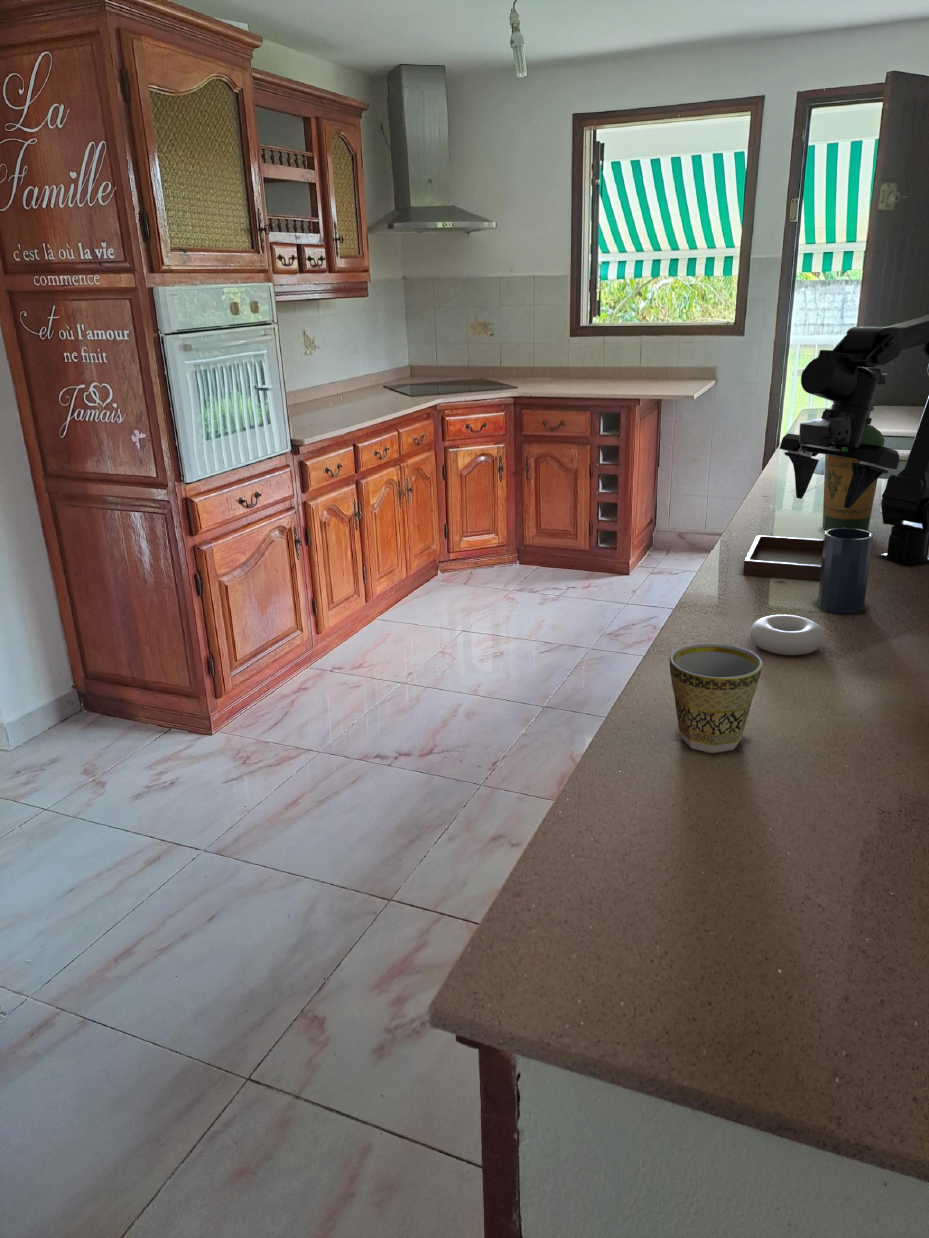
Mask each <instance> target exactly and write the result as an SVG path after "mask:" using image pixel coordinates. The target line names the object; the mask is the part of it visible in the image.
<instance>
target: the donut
mask: <svg viewBox="0 0 929 1238" xmlns="http://www.w3.org/2000/svg"><path fill="white" fill-rule="evenodd" d="M749 634H750V637H751V640H752V642H753V643H754V644H755V645H756V646H757V647H758V648H759V649H762V650H763V651H766V652H768V653H772V654H776V655H782V656H801V655H802V656H803V655H808V654H811V653H814V652H815V651H817V650H819V648H821V647H822V645H823V643H824V640H825V632H824V631H823V629H822V627H821V626H820V625H819V624H818V623H817V622H815V621H813V620H811V619H809V618H806V617H803V616H798V615H793V614H773V615H767V616H763V617H761V618H759V619H757V620H756V621H755V622H754V623H753V624H752V626H751V628H750V631H749Z"/></svg>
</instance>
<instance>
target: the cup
mask: <svg viewBox="0 0 929 1238" xmlns="http://www.w3.org/2000/svg"><path fill="white" fill-rule="evenodd" d="M873 538H874V534H873V532H871V531H869V530H868V531H865V530H861V529H854V528H835V529H829V530H827V531H825V530H824V537H823V540H824V546H823V556H822V566H821V575H820V581H819V586H818V595H817V596H818V597H817V607H818V608H819V609H821V610H823V611H825V612H828V613H833V614H839V615H840V614H841V615H852V614H858V613H861V612H863V611H864V609H865V604H866V596H867V593H866V592H867V589H868V588H867V587H868V579H869V572H870V571H869V569H870V562H871V556H872V555H871V554H872V545H873Z"/></svg>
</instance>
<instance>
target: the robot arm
mask: <svg viewBox="0 0 929 1238" xmlns="http://www.w3.org/2000/svg"><path fill="white" fill-rule="evenodd" d="M845 334H846V335H844V336H843V338H842V339H841V340H840V341H839V342H838V343H837V344H836V345H835V346H834V348H833V349H832V350H831V349H820V350H819V352H818V355H817V357H815V358H814V359H812V360H811V361H809V362H808V364H807V365H806V366H805V368H804V369H803V370H802V372H801V374H800V384H801V387H802V390H803V391H804V392H806V393H807V394H810V395H813V396H816V397H819V398H822V399H825V400H828V401H830V402H831V406H830V408H824V410H823V412H822V414H821V417H820V418H815V419H810V420H806V421H802V422H800V423H799V433H798V434H797V433H795V434H794V433H786V434H785V435H784V436H783V437H782V438H781V441H780V443H779V448H778V449H779V450H782V451H784V456H786V457H788V458H789V460H790V462H791V463H792V466H793V472H794V482H795V497H796V499H799V500H802V499H803V498H804V496H805V494H806V492H807V490H808V488H809V486H810V483H811V480H812V478H813V475H814V473H815V472H816V469H817V466H818V463H819V461H820V460H819V459H818V458H814V457H817V456H818V455H825V454H826V455H833V456H839V457H846V458H852V459H857V460H858V461H860V464H859V463H853V462H852V463H851V465H852V471H853V475H852V478H851V482H850V485H849V488H848V491H847V495H846V498H845V503H844V508H848V509H849V508H850V507H851V506H852V505H853V504H854V503H855V502H856V501H857V499H858V498H859V497H860V496H861V495H862V494H863V492H864V491H865V490H866V489H867V488H868V487H869V486H870V485H871V484H872V483H873V482H874V481H875V480H876V479H877V478H878V479H879V478H880V477H881V476H882V475H883V474H886V475H887V474H888V472H889V470H890V469H891V470H898V466H899V463H900V459H901V458H900V454H899V451H898V450H896V449H892V448H889V447H886V446H884V447H883V446H878V445H870V444H863V443H860V440H861V437H862V433H863V430H864V427H865V424H868V425H872V424H871V423H872V421H873V418H872V417H870V416H869V417H867V416H868V413H869V410H870V407H871V403H872V400H873V401H874V396H875V393H876V390H877V387H878V385H880V386H881V385H882V386H884V385H886V383H887V381H886V378H885V376H884V375H883V373H882V370H881V368H880V367H877V366H886V365H888V364H889V363H891V362H893V361H894V360H896V359H897V358H899V356H900V354H901V353H902V352H903V351H905V350H910V349H912V348H916V347H918V346H923V348H922V351H923V353H924V354H925V356H926V358H927V359H928V360H929V313H927V314H925V315H923V316H920V317H916V318H913V319H909V320H906V321H903V322H899V323H895V324H891V325H888V326H853V327H850V328H849V329H848V330H847V331H846V333H845ZM926 371H927V374H928V376H929V364H928V366H927V370H926ZM834 446H835V448H829V447H834ZM842 448H848V450H847V451H842ZM830 450H834V451H830ZM888 469H889V470H888ZM878 479H877V480H878ZM880 509H881V515H882V517H881V518H882V524H883V525H889V526H891V529H890V534H889V537H888V544H887V550H886V551H887V552H885V553H881V554H880V557H881V558H884V559H886V560H890V561H893V562H895V563H898V564H901V565H905V566H913V565H918V564H924V563H929V396H928V398H927V400H926V403H925V407H924V409H923V413H922V415H921V418H920V422H919V424H918V427H917V430H916V434H915V436H914V438H913V442H912V445H911V448H910V451H909V454H908V456H907V460H906V463H905V466H904V468H903V469H902V470H901V471H900V472H899V473H897V474H891V475H889V477H888V478H887V481H886V485H885V488H884V490H883V493H882V494H881V500H880Z"/></svg>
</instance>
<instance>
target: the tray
mask: <svg viewBox="0 0 929 1238" xmlns="http://www.w3.org/2000/svg"><path fill="white" fill-rule="evenodd" d="M823 546H824V539H819V538H806V537H791V536H790V537H789V536H775V535H761V534H760V535H759V534H757V535H756V536H755V539H754V541H753V542H752V545H751V546H750V549H749V550H748V552H747V554H746V556H745V558H744V560H743V569H742V570H743V571H742V574H743V575H746V576H756V577H757V576H759V577H768V578H769V577H771V578H780V579H784V578H785V579H793V580H794V579H795V580H805V581H817V582H820V575H821V566H822V556H823Z"/></svg>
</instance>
